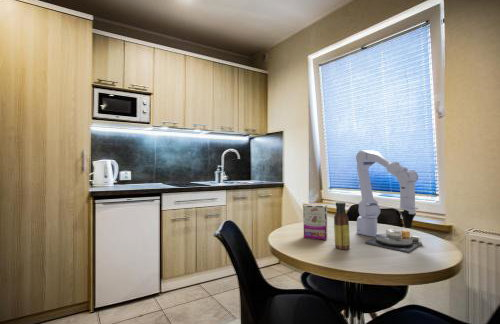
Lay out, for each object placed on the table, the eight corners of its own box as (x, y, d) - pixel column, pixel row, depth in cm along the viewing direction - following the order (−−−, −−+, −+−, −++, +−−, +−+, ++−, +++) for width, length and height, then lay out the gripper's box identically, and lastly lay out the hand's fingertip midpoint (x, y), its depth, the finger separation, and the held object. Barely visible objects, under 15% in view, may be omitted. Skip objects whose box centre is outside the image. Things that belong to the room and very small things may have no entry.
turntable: (388, 246, 115) (388, 236, 115) (369, 237, 130) (369, 228, 130) (420, 245, 116) (420, 235, 116) (397, 236, 131) (397, 227, 131)
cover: (392, 239, 120) (392, 232, 120) (383, 236, 126) (383, 229, 126) (404, 238, 121) (403, 232, 121) (394, 235, 127) (394, 229, 127)
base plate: (365, 243, 124) (365, 236, 124) (381, 236, 136) (381, 229, 136) (408, 252, 110) (408, 244, 110) (422, 244, 122) (421, 236, 122)
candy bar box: (327, 238, 133) (327, 205, 134) (326, 240, 129) (326, 206, 129) (305, 235, 137) (305, 203, 138) (303, 238, 133) (303, 205, 133)
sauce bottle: (349, 246, 119) (349, 201, 119) (350, 250, 113) (349, 203, 113) (334, 245, 121) (334, 201, 121) (333, 249, 115) (333, 203, 116)
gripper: (422, 199, 111) (422, 232, 111) (413, 195, 125) (413, 224, 125) (403, 198, 114) (403, 230, 114) (396, 195, 127) (396, 223, 127)
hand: (407, 227), depth 119 cm, fingers closed
